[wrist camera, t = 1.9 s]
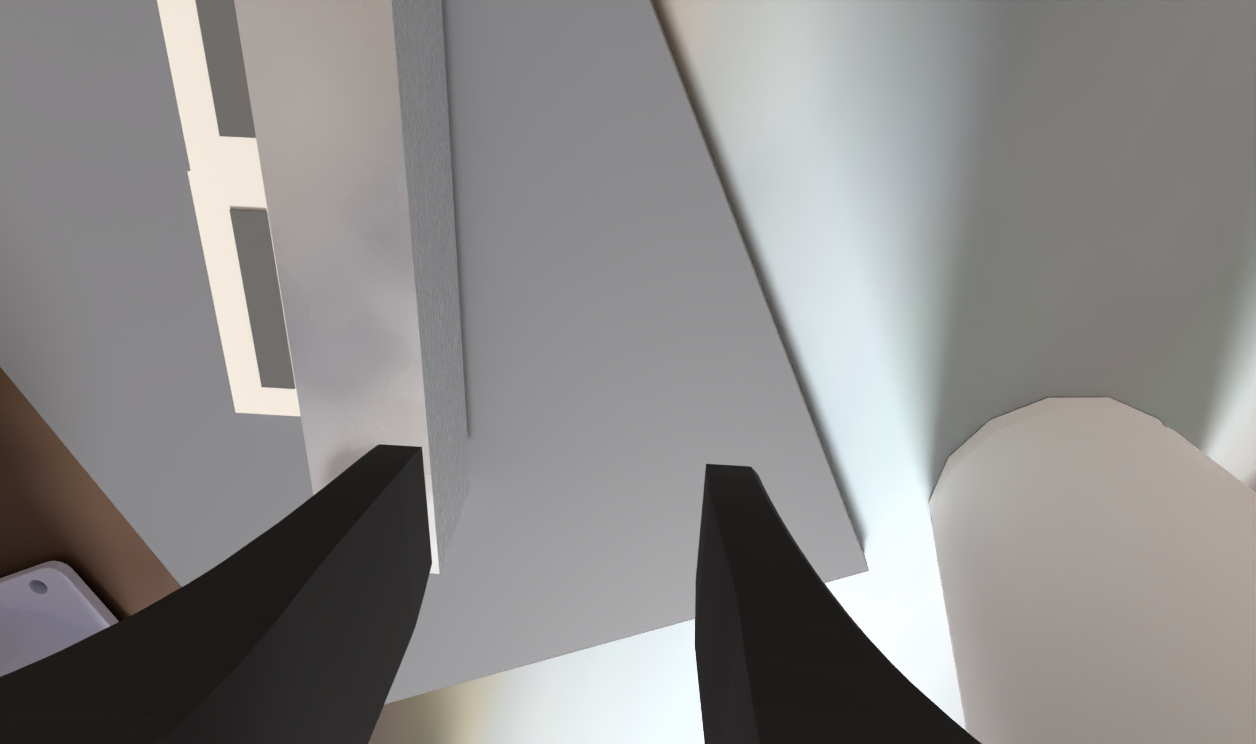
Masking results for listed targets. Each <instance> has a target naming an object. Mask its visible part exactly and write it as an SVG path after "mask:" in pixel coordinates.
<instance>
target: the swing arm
mask: <svg viewBox="0 0 1256 744" xmlns="http://www.w3.org/2000/svg"><path fill="white" fill-rule="evenodd" d="M234 4H235V10H236V16H237V22H238V29H239V35H240V41H241V47H242V53H243V60H244V66H245V72H246V78H247V85H248V91H249V97H250V103H251V110H252V116H253V122H254V128H255V134H256V141H257V147H258V153H259V159H260V166H261V172H262V178H263V184H264V191H265V197H266V203H267V209H268V216H269V222H270V228H271V234H272V240H273V247H274V253H275V259H276V265H277V272H278V278H279V284H280V290H281V297H282V303H283V309H284V315H285V321H286V328H287V334H288V340H289V346H290V353H291V359H292V365H293V371H294V378H295V384H296V390H297V396H298V402H299V409H300V415H301V421H302V427H303V434H304V440H305V446H306V452H307V459H308V465H309V471H310V477H311V484H312V490H313V495H315V494H316V493H317V492H319V491H320V490H321V489H322V488H324V487H325V486H326V485H327V484H329V483H330V482H331V481H332V480H334V479H335V478H336V477H337V476H339V475H340V474H341V473H342V472H344V471H345V470H346V469H347V468H349V467H350V466H351V465H352V464H354V463H355V462H356V461H357V460H359V459H360V458H361V457H362V456H364V455H365V454H366V453H367V452H369V451H370V450H371V449H373V448H374V447H375V446H377V445H378V444H384V445H400V446H417V447H422V453H423V465H424V476H425V487H426V499H427V510H428V521H429V533H430V544H431V556H432V566H431V570H430V573H433V574H440V571H441V568H442V565H443V562H444V560H445V557H446V554H447V551H448V548H449V546H450V543H451V540H452V537H453V534H454V532H455V529H456V526H457V523H458V520H459V518H460V515H461V512H462V509H463V506H464V504H465V501H466V498H467V495H468V492H469V490H470V471H469V454H468V438H467V421H466V404H465V387H464V370H463V353H462V336H461V319H460V303H459V286H458V269H457V252H456V235H455V218H454V201H453V184H452V168H451V151H450V134H449V117H448V100H447V83H446V66H445V49H444V33H443V16H442V0H234Z"/></svg>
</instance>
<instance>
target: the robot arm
mask: <svg viewBox="0 0 1256 744" xmlns="http://www.w3.org/2000/svg"><path fill="white" fill-rule="evenodd" d="M431 566H432V556H431V544H430V533H429V521H428V510H427V499H426V487H425V476H424V465H423V453H422V447H417V446H400V445H384V444H378V445H377V446H375V447H374V448H373V449H371V450H370V451H369V452H367V453H366V454H365V455H364V456H362V457H361V458H360V459H359V460H357V461H356V462H355V463H354V464H352V465H351V466H350V467H349V468H347V469H346V470H345V471H344V472H342V473H341V474H340V475H339V476H337V477H336V478H335V479H334V480H332V481H331V482H330V483H329V484H327V485H326V486H325V487H324V488H322V489H321V490H320V491H319V492H317V493H316V494H315V495H313V496H312V497H311V498H310V499H308V500H307V501H306V502H304V503H303V504H302V505H301V506H299V507H298V508H297V509H295V510H294V511H293V512H292V513H290V514H289V515H288V516H286V517H285V518H284V519H282V520H281V521H280V522H278V523H277V524H276V525H274V526H273V527H271V528H270V529H269V530H267V531H266V532H264V533H263V534H261V535H260V536H259V537H257V538H256V539H254V540H253V541H251V542H250V543H249V544H247V545H246V546H244V547H243V548H241V549H240V550H239V551H237V552H236V553H234V554H233V555H231V556H230V557H229V558H227V559H226V560H224V561H223V562H221V563H220V564H218V565H217V566H215V567H214V568H212V569H211V570H209V571H208V572H206V573H204V574H203V575H201V576H200V577H198V578H196V579H195V580H193V581H191V582H190V583H188V584H187V585H185V586H183V587H181V588H180V589H178V590H176V591H174V592H173V593H171V594H169V595H168V596H166V597H164V598H162V599H161V600H159V601H157V602H155V603H154V604H152V605H150V606H148V607H147V608H145V609H143V610H141V611H139V612H137V613H136V614H134V615H132V616H130V617H128V618H126V619H124V620H122V621H120V622H119V621H118V620H117V619H116V617H115V616H114V615H113V614H112V613H111V612H110V611H109V610H108V608H107V607H106V606H105V605H104V604H103V603H102V602H101V601H100V599H99V598H98V597H97V596H96V595H95V594H94V593H93V591H92V590H91V589H90V588H89V587H88V586H87V585H86V584H85V582H84V581H83V580H82V579H81V578H80V577H79V576H78V575H77V573H76V572H75V571H74V570H73V569H72V568H71V567H70V566H69V565H67V564H65V563H63V562H59V561H48V562H45V563H42V564H39V565H36V566H34V567H31V568H28V569H25V570H22V571H19V572H17V573H14V574H11V575H8V576H5V577H2V578H0V744H368V742H369V740H370V737H371V735H372V732H373V730H374V728H375V725H376V723H377V720H378V718H379V716H380V713H381V711H382V708H383V706H384V703H385V701H386V699H387V696H388V694H389V691H390V689H391V686H392V684H393V682H394V679H395V677H396V674H397V672H398V669H399V667H400V664H401V662H402V659H403V657H404V654H405V652H406V650H407V647H408V645H409V642H410V640H411V637H412V634H413V632H414V629H415V627H416V623H417V619H418V616H419V612H420V609H421V605H422V601H423V598H424V594H425V590H426V586H427V582H428V578H429V574H430V570H431ZM695 651H696V661H697V671H698V681H699V691H700V701H701V711H702V720H703V730H704V739H705V744H982V743H980V742H979V741H978V740H976V739H975V738H974V737H973V736H971V735H970V734H969V733H968V732H967V731H965V730H964V729H963V728H962V727H961V726H959V725H958V724H957V723H956V722H955V721H953V720H952V719H951V718H950V717H949V716H948V715H947V714H946V713H944V712H943V711H942V710H941V709H940V708H939V707H938V706H937V705H935V704H934V703H933V702H932V701H931V700H930V699H929V698H928V697H926V696H925V695H924V694H923V693H922V692H921V691H920V690H919V689H918V688H916V687H915V686H914V685H913V684H912V683H911V682H910V681H909V680H908V679H907V678H906V677H905V676H904V675H903V674H902V673H901V672H900V671H899V670H898V669H897V668H896V667H895V666H894V665H893V664H892V663H891V662H890V661H889V660H888V659H887V658H886V657H885V656H884V655H883V654H882V653H881V651H880V650H879V649H878V648H877V647H876V646H875V645H874V644H873V643H872V642H871V641H870V640H869V638H868V637H867V636H866V635H865V634H864V633H863V631H862V630H861V629H860V628H859V627H858V626H857V624H856V623H855V622H854V621H853V620H852V618H851V617H850V616H849V615H848V614H847V612H846V611H845V610H844V609H843V607H842V606H841V605H840V603H839V602H838V601H837V600H836V598H835V597H834V596H833V594H832V593H831V592H830V590H829V589H828V588H827V587H826V585H825V584H824V582H823V581H822V580H821V578H820V577H819V576H818V574H817V573H816V571H815V570H814V568H813V567H812V565H811V564H810V563H809V561H808V560H807V558H806V557H805V555H804V554H803V552H802V551H801V549H800V548H799V546H798V545H797V543H796V542H795V540H794V539H793V537H792V535H791V534H790V532H789V531H788V529H787V527H786V526H785V524H784V522H783V521H782V519H781V517H780V515H779V514H778V512H777V510H776V509H775V507H774V505H773V503H772V501H771V500H770V498H769V496H768V494H767V492H766V490H765V488H764V486H763V484H762V482H761V480H760V478H759V475H758V474H757V473H756V471H755V470H754V469H753V468H752V467H751V466H736V465H719V464H706V470H705V482H704V493H703V504H702V515H701V526H700V537H699V548H698V559H697V570H696V592H695Z"/></svg>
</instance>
